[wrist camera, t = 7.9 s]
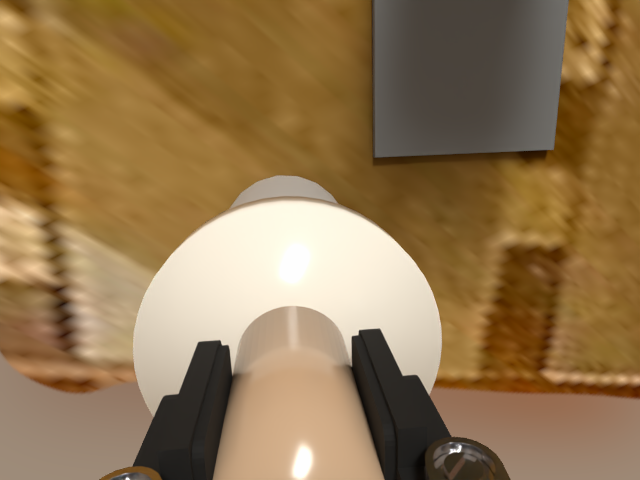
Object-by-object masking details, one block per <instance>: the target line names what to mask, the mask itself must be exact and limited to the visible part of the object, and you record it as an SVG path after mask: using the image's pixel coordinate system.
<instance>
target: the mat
mask: <svg viewBox="0 0 640 480" xmlns="http://www.w3.org/2000/svg"><path fill="white" fill-rule="evenodd" d="M568 1H569V0H372V38H373V157H398V156H420V155H443V154H465V153H488V152H511V151H533V150H554V141H555V131H556V121H557V111H558V101H559V91H560V81H561V71H562V61H563V51H564V41H565V31H566V21H567V11H568Z"/></svg>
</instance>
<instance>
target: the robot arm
mask: <svg viewBox="0 0 640 480" xmlns="http://www.w3.org/2000/svg"><path fill="white" fill-rule="evenodd" d="M351 344H352V369H353V372H354V376H355V379H356V383H357V386H358V390H359V393H360V397H361V400H362V404H363V407H364V410H365V414H366V417H367V421H368V424H369V428H370V431H371V435H372V438H373V441H374V445H375V448H376V452H377V455H378V459H379V462H380V466H381V469H382V472H383V476H384V479H385V480H510V478H509V476H508V474H507V472H506V470H505V468H504V465H503V463H502V462H501V461H500V459H499V458H498V456H497V455H496V454H495V453H494V452H493V451H492V450H490V449H489V448H488V447H486V446H484V445H483V444H481V443H479V442H477V441H474V440H470V439H467V438H460V437H451V435H450V433H449V431H448V429H447V428H446V426H445V424H444V422H443V420H442V418H441V417H440V415H439V413H438V411H437V409H436V407H435V405H434V404H433V402H432V400H431V398H430V396H429V394H428V393H427V391H426V389H425V387H424V385H423V383H422V382H421V380H420V378H419V377H418V375H405V376H403V375H402V373H401V371H400V369H399V367H398V365H397V362H396V360H395V358H394V356H393V354H392V352H391V350H390V348H389V346H388V344H387V342H386V340H385V338H384V335H383V333H382V331H381V329H380V328H378V329H364V330H359V334H358V335H356V336H352V339H351ZM231 381H232V368H231V358H230V349H229V345H222V344H221V341H220V340H214V341H201V342H198V344H197V346H196V349H195V351H194V354H193V357H192V359H191V362H190V365H189V367H188V370H187V373H186V375H185V378H184V380H183V383H182V386H181V388H180V391H179V394H173V395H165V396H163V398H162V400H161V402H160V404H159V406H158V409H157V411H156V413H155V416H154V418H153V420H152V423H151V425H150V427H149V430H148V432H147V434H146V436H145V439H144V441H143V443H142V446H141V448H140V450H139V453H138V455H137V457H136V459H135V462H134V464H133V466H132V467H127V468H123V469H120V470H116V471H114V472H112V473H110V474H108V475H106V476H104V477H102V478H101V479H99V480H213V474H214V469H215V464H216V459H217V454H218V448H219V443H220V438H221V433H222V427H223V422H224V417H225V412H226V407H227V401H228V396H229V391H230V386H231Z"/></svg>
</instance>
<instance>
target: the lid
mask: <svg viewBox="0 0 640 480" xmlns="http://www.w3.org/2000/svg"><path fill="white" fill-rule="evenodd" d="M378 328H380V329H381V331H382V333H383V335H384V338H385V340H386V342H387V344H388V346H389V348H390V350H391V352H392V354H393V356H394V358H395V360H396V362H397V365H398V367H399V369H400V371H401V373H402V375H403V376H405V375H418V377H419V378H420V380H421V382H422V383H423V385H424V387H425V389H426V391H427V393H428V394H430V392H431V389H432V387H433V385H434V382H435V380H436V376H437V372H438V368H439V364H440V357H441V347H442V336H441V323H440V317H439V312H438V308H437V305H436V302H435V299H434V296H433V293H432V290H431V288H430V286H429V284H428V283H427V281H426V279H425V277H424V275H423V273H422V272H421V271H420V269H419V268H418V266H417V265H416V263H415V262H414V261H413V259H412V258H411V257H410V256H409V255H408V254H407V253H406V252H405V251H404V250H403V249H402V248H401V247H400V245H399V244H398V243H397V242H396V241H395V240H394V239H393V238H392V237H391V236H390V235H389V234H388V233H387V232H386V231H384V230H383V229H382V228H381V227H379V226H378V225H377V224H376V223H374V222H373V221H372V220H370V219H368V218H367V217H365V216H363V215H362V214H360V213H358V212H356V211H354V210H352V209H349V208H347V207H345V206H342V205H340V204H337V203H333V202H330V201H326V200H322V199H316V198H309V197H302V196H280V197H272V198H263V199H259V200H255V201H251V202H247V203H243V204H241V205H238V206H236V207H233V208H231V209H228V210H226V211H224V212H222V213H220V214H219V215H217V216H215V217H213V218H211V219H210V220H208V221H207V222H205V223H204V224H203V225H201V226H200V227H199V228H197V229H196V230H195V231H193V232H192V233H191V234H190V235H189V236H188V237H187V238H186V239H185V240H184V241H183V242H182V243H181V244H180V245H179V246H178V248H177V249H176V250H175V251H174V252H173V254H172V255H171V256H170V257H169V258H168V260H167V261H166V262H165V264H164V265H163V266H162V267H161V269H160V270H159V271H158V273H157V274H156V275H155V277H154V279H153V280H152V282H151V284H150V286H149V288H148V289H147V291H146V293H145V295H144V298H143V301H142V303H141V306H140V309H139V311H138V315H137V320H136V324H135V329H134V340H133V357H134V368H135V373H136V377H137V381H138V385H139V388H140V391H141V393H142V396H143V398H144V400H145V403H146V405H147V406H148V408H149V410H150V412H151V413H152V415H153V417H154V416H155V413H156V411H157V409H158V406H159V404H160V402H161V400H162V398H163V396H165V395H173V394H179V391H180V388H181V386H182V383H183V380H184V378H185V375H186V373H187V370H188V367H189V365H190V362H191V359H192V357H193V354H194V351H195V349H196V346H197V344H198V342H201V341H214V340H220V341H221V344H222V345H229V349H230V358H231V368H232V381H231V386H230V391H229V396H228V401H227V407H226V412H225V417H224V422H223V427H222V433H221V438H220V443H219V448H218V454H217V459H216V464H215V469H214V474H213V480H385V479H384V476H383V472H382V469H381V466H380V462H379V459H378V455H377V452H376V448H375V445H374V441H373V438H372V435H371V431H370V428H369V424H368V421H367V417H366V414H365V410H364V407H363V404H362V400H361V397H360V393H359V390H358V386H357V383H356V379H355V376H354V372H353V369H352V344H351V339H352V336H356V335H358V334H359V330H364V329H378Z"/></svg>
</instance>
